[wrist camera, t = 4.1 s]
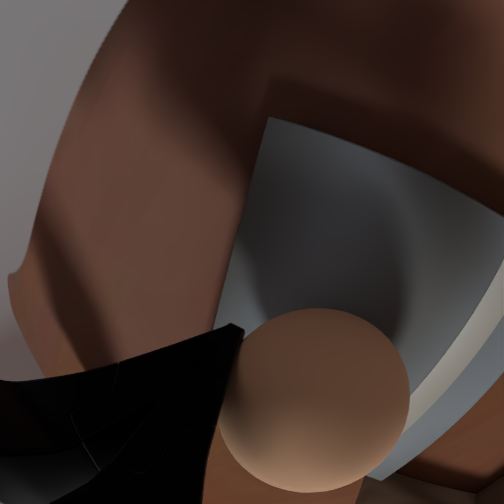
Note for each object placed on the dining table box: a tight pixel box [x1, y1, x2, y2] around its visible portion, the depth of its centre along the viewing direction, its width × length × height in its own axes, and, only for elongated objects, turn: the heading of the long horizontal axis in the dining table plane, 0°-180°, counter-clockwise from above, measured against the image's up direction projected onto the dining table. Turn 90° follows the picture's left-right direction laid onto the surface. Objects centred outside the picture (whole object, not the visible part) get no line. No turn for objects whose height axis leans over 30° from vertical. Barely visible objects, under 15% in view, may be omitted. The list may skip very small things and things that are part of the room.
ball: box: [218, 308, 410, 492], centre depth 7 cm, size 5×5×5 cm
